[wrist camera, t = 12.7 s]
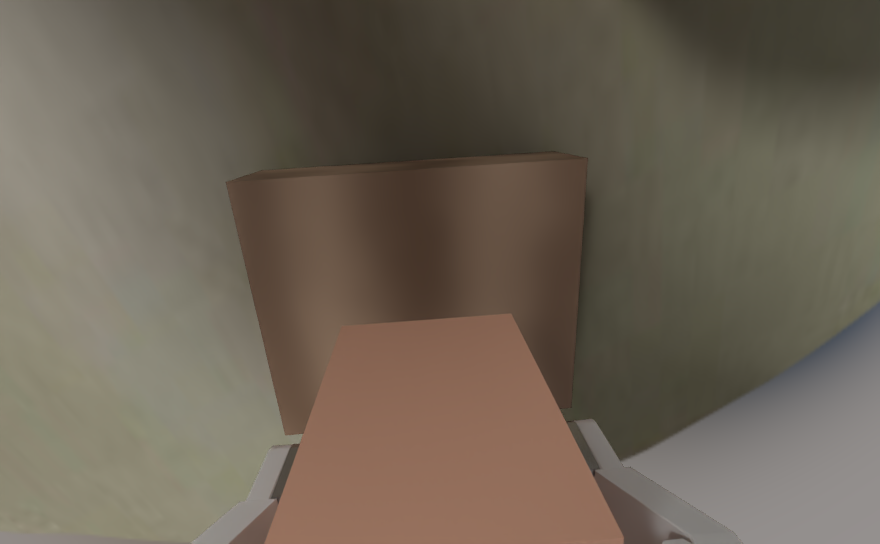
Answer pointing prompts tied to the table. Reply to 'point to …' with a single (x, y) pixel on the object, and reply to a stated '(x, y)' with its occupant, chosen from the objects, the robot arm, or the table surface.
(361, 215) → the walnut stand
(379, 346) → the terracotta block
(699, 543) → the robot arm
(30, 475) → the table surface
